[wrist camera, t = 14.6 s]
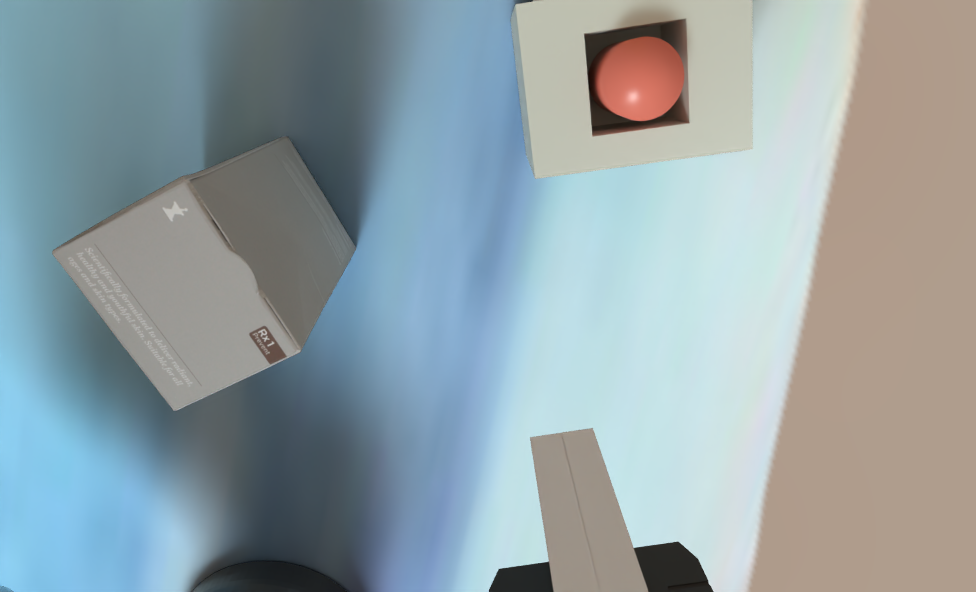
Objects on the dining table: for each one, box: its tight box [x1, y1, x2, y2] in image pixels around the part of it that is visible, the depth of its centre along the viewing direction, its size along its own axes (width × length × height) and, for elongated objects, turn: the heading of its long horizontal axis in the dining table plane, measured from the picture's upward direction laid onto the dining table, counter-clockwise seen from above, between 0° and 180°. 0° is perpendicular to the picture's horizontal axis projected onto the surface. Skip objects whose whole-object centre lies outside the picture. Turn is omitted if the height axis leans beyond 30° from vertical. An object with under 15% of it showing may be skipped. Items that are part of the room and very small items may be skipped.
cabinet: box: [510, 0, 753, 179], centre depth 33 cm, size 10×8×9 cm
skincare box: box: [52, 136, 356, 411], centre depth 32 cm, size 8×7×16 cm
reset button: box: [588, 37, 684, 121], centre depth 30 cm, size 3×3×5 cm
